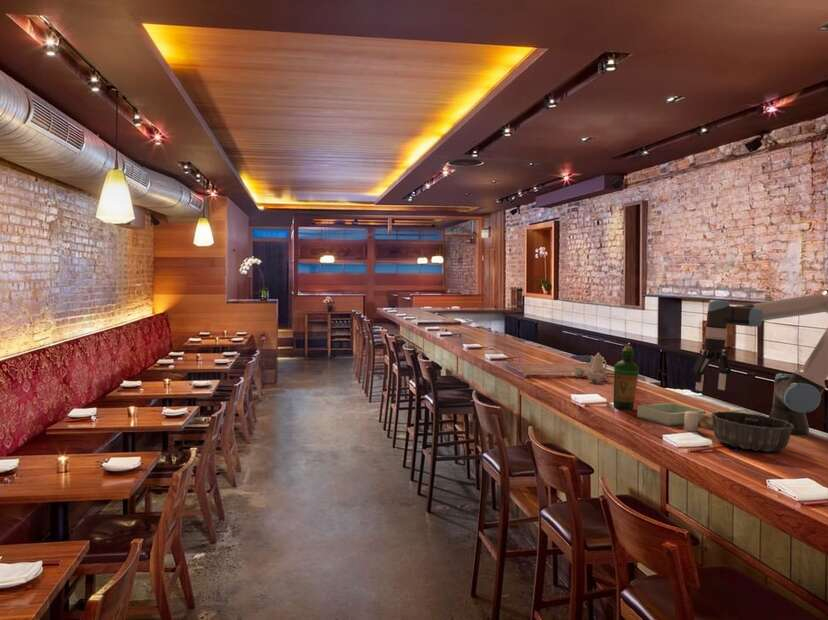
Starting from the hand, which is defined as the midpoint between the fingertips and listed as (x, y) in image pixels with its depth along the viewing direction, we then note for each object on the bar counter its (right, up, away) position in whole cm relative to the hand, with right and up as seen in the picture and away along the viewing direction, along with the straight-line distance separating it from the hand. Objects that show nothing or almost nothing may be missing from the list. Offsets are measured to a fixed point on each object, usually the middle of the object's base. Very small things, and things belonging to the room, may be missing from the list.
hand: (710, 390), depth 248 cm
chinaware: (-18, -8, +105) cm, 107 cm away
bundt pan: (+1, -17, -27) cm, 32 cm away
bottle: (-26, -12, +28) cm, 40 cm away
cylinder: (-11, -15, -7) cm, 20 cm away
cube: (0, -15, 0) cm, 15 cm away
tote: (-12, -14, +9) cm, 21 cm away
